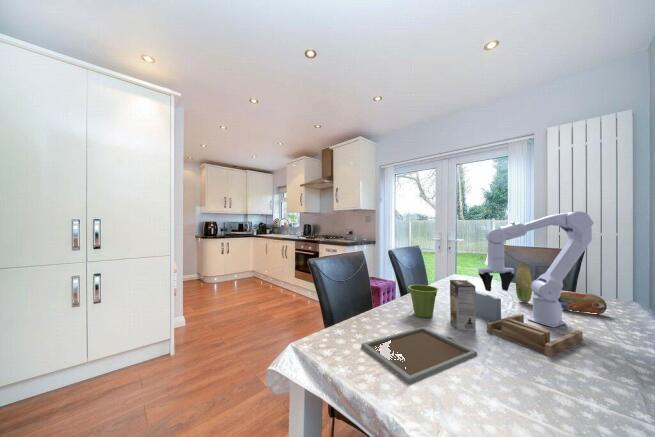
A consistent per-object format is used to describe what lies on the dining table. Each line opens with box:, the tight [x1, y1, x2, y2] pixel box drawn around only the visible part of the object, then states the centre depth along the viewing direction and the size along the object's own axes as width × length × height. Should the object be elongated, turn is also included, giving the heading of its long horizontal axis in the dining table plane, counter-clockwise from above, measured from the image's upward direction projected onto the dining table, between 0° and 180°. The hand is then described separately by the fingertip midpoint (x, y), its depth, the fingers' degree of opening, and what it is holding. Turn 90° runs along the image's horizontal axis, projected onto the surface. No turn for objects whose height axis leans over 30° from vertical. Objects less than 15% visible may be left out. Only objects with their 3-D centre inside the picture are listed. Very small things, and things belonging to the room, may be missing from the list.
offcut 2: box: [507, 319, 551, 344], centre depth 79 cm, size 2×11×4 cm, turn 25°
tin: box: [558, 291, 608, 315], centre depth 103 cm, size 15×3×8 cm, turn 58°
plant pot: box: [407, 284, 439, 318], centre depth 99 cm, size 12×12×11 cm
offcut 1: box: [501, 321, 545, 347], centre depth 77 cm, size 2×11×4 cm, turn 26°
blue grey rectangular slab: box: [476, 290, 502, 322], centre depth 98 cm, size 2×12×9 cm, turn 13°
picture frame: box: [360, 326, 478, 385], centre depth 71 cm, size 19×2×30 cm
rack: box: [486, 313, 584, 357], centre depth 80 cm, size 22×17×3 cm
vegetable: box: [515, 261, 533, 304], centre depth 115 cm, size 6×6×20 cm
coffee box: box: [449, 279, 477, 332], centre depth 89 cm, size 9×6×16 cm
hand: (496, 290), depth 98 cm, fingers open, 7 cm apart
